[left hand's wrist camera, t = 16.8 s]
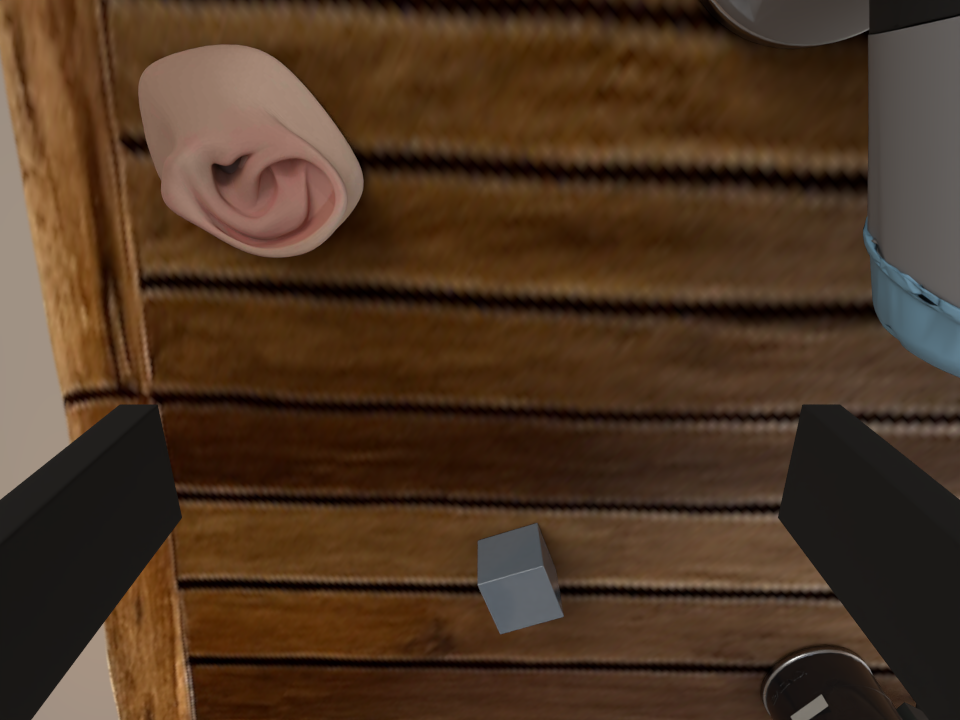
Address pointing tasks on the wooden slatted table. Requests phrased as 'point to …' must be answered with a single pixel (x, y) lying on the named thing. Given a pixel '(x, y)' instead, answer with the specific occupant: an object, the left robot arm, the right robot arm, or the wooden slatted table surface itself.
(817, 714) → the right robot arm
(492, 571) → the slate cube
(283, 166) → the anatomical model
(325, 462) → the wooden slatted table surface
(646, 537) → the wooden slatted table surface
